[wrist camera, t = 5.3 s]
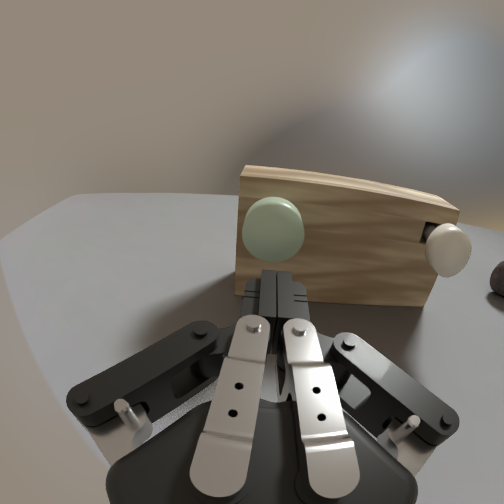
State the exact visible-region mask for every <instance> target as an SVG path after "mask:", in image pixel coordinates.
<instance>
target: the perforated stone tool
mask: <svg viewBox="0 0 504 504" xmlns="http://www.w3.org/2000/svg"><path fill="white" fill-rule="evenodd" d="M490 286H491V289H492V290H493V291H494V292H496V293H497V294H499V295H502V296H504V261H502V262H501V263H499V264H498V265H497V266H496V268H495V269H494V270H493V272H492V274H491V277H490Z"/></svg>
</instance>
